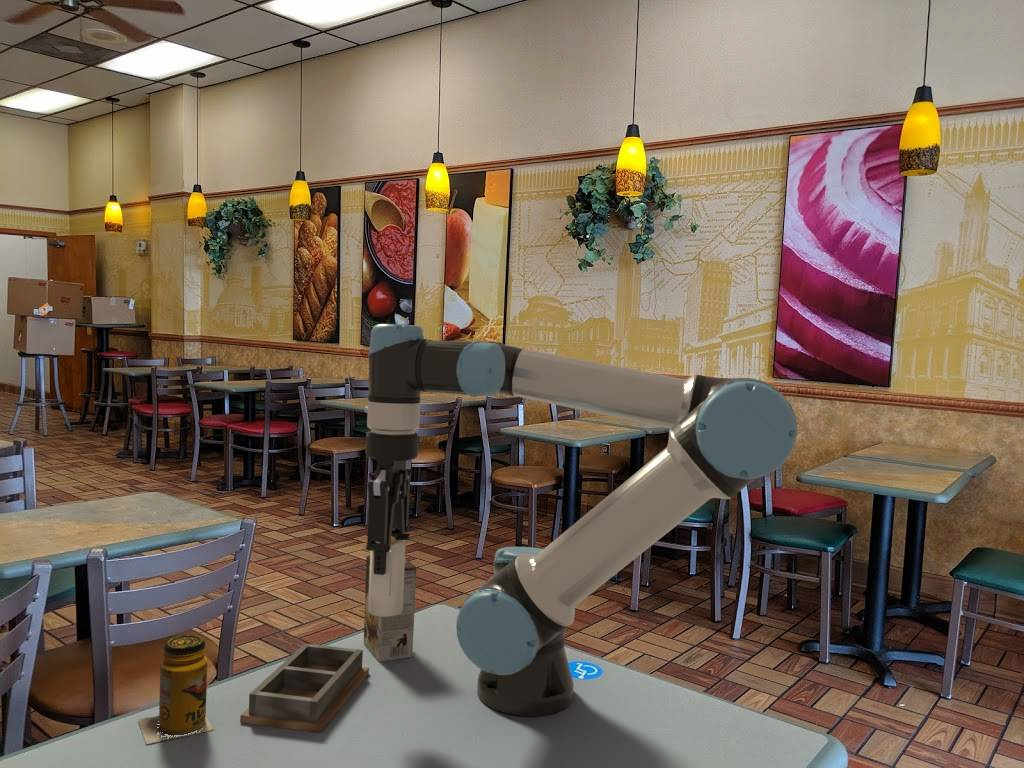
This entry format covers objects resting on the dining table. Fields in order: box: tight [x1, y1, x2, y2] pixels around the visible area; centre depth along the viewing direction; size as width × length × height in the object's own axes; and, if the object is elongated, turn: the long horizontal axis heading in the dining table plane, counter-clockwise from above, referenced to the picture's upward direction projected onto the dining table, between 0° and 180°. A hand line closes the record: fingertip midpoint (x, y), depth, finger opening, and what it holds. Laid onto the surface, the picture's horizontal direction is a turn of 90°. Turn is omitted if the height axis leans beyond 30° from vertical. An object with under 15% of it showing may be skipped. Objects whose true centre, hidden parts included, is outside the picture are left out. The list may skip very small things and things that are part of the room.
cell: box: [368, 536, 406, 617], centre depth 115 cm, size 5×5×11 cm
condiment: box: [137, 634, 214, 745], centre depth 108 cm, size 7×8×12 cm
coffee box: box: [363, 555, 418, 663], centre depth 138 cm, size 9×6×16 cm
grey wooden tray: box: [239, 643, 370, 734], centre depth 119 cm, size 12×20×4 cm, turn 171°
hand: (386, 588), depth 115 cm, fingers closed on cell, 5 cm apart
